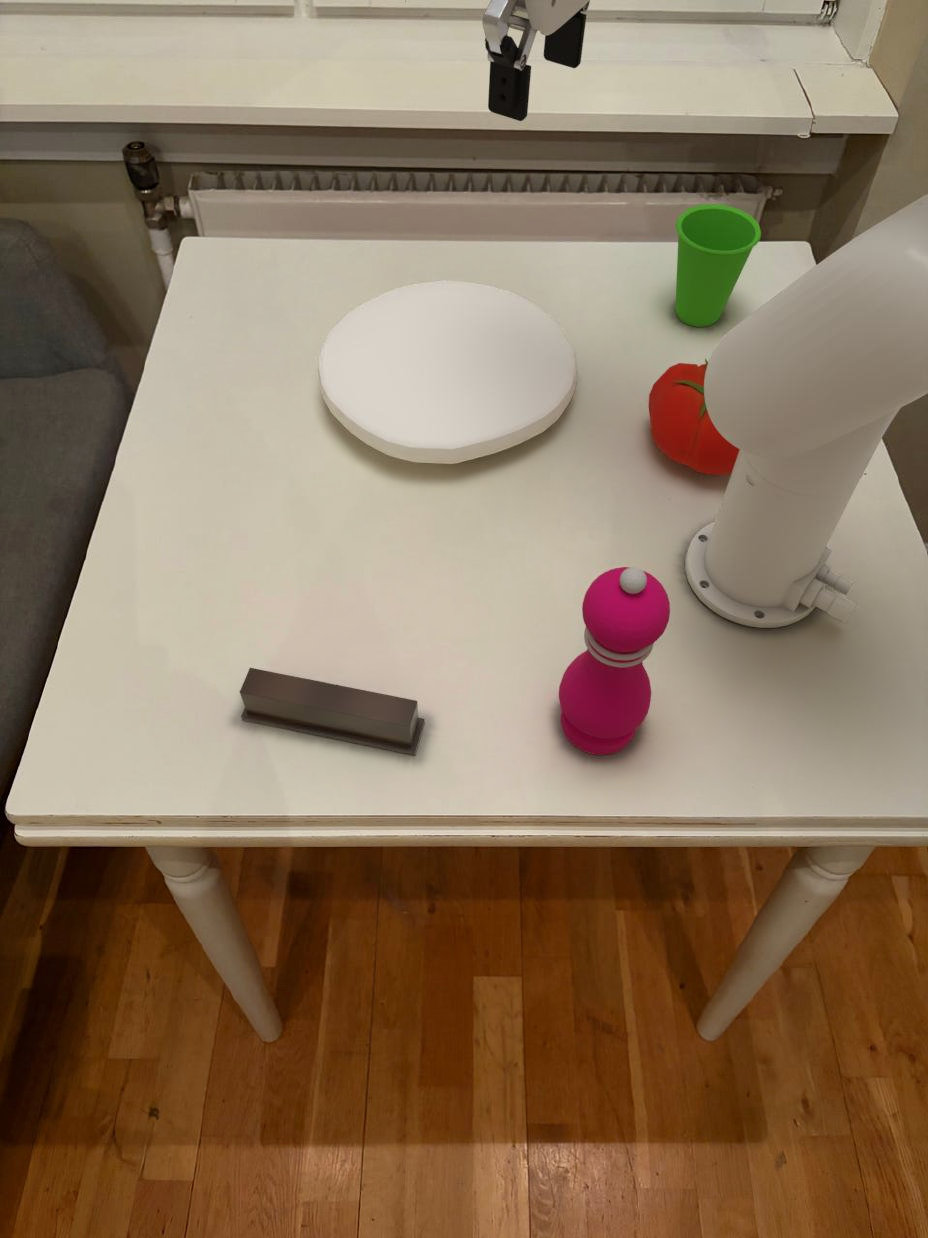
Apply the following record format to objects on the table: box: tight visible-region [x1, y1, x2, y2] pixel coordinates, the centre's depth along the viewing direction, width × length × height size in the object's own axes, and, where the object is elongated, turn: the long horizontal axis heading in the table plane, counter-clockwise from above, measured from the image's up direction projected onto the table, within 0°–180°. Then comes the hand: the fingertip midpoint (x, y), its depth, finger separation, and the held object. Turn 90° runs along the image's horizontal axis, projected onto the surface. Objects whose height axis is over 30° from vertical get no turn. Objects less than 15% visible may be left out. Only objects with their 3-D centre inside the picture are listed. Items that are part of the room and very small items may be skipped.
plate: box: [317, 279, 578, 465], centre depth 100 cm, size 28×6×27 cm
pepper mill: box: [558, 566, 671, 756], centre depth 70 cm, size 7×7×20 cm
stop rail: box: [239, 667, 426, 756], centre depth 77 cm, size 15×3×4 cm, turn 77°
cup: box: [674, 203, 762, 328], centre depth 106 cm, size 9×9×11 cm
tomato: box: [648, 358, 740, 476], centre depth 94 cm, size 13×12×8 cm
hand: (535, 87), depth 77 cm, fingers open, 9 cm apart
